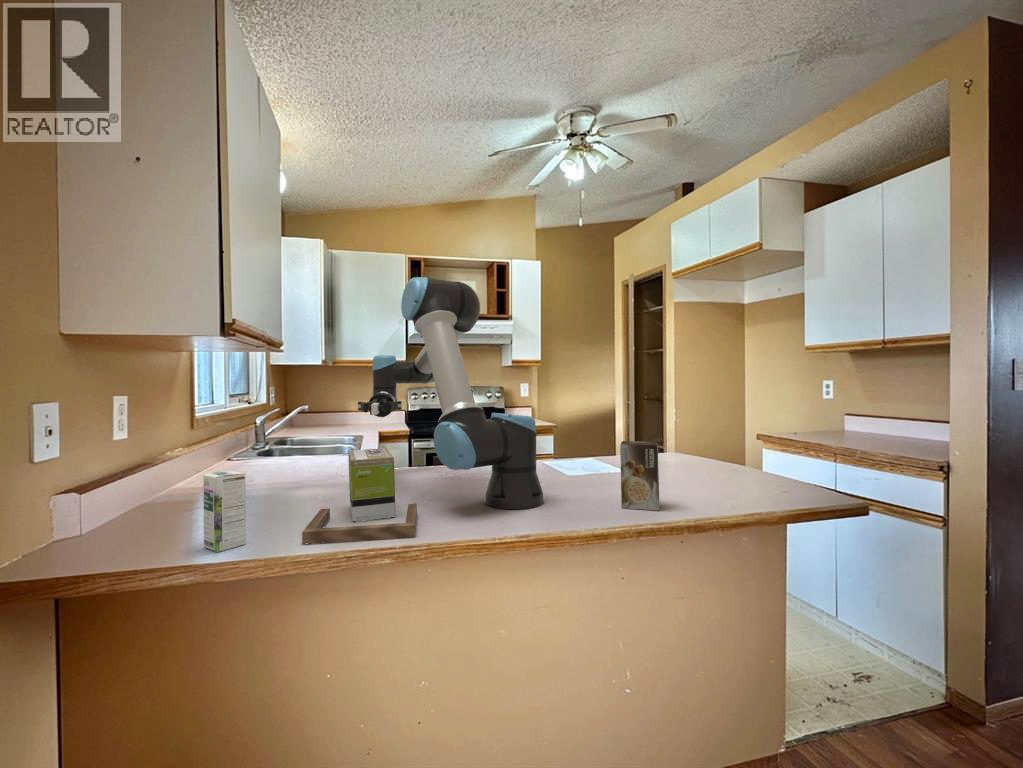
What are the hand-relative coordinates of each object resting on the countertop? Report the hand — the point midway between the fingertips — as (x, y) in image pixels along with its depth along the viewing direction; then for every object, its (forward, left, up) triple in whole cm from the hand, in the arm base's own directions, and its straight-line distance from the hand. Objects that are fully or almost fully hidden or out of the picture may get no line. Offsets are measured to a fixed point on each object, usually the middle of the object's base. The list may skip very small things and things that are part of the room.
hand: (374, 409), depth 131 cm
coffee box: (-66, +20, -25) cm, 73 cm away
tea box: (0, +11, -25) cm, 27 cm away
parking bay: (0, +23, -25) cm, 33 cm away
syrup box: (+26, +30, -25) cm, 46 cm away
